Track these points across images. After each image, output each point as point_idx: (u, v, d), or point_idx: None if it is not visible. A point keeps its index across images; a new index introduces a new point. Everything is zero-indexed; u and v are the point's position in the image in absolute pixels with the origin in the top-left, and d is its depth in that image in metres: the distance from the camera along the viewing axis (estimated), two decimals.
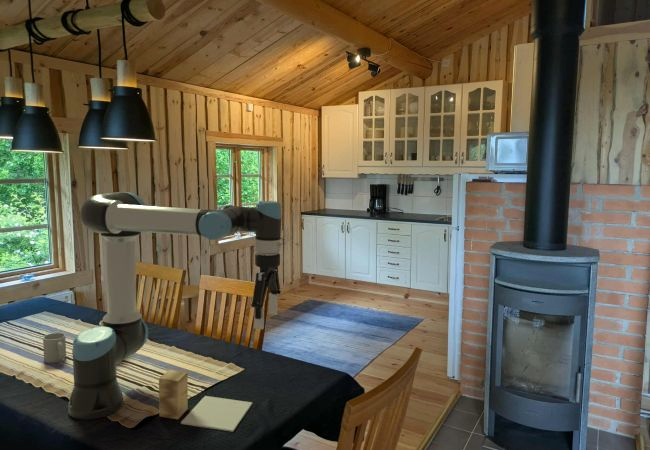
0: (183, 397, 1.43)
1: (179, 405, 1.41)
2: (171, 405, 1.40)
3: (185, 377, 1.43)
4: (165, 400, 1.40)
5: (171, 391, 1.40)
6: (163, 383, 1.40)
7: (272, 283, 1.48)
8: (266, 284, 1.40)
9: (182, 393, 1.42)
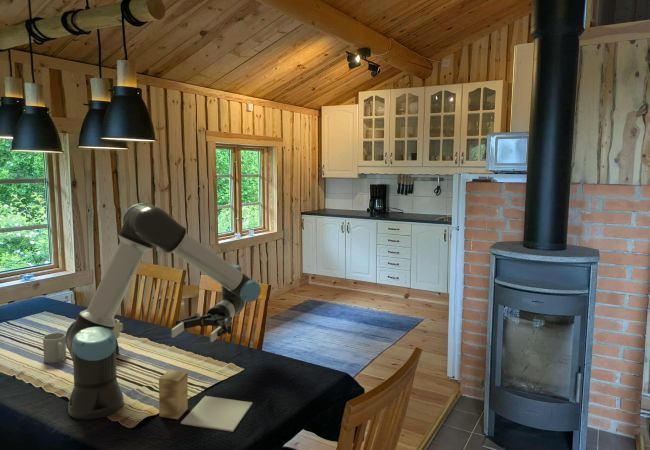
0: (183, 397, 1.43)
1: (179, 405, 1.41)
2: (171, 405, 1.40)
3: (185, 377, 1.43)
4: (165, 400, 1.40)
5: (171, 391, 1.40)
6: (163, 383, 1.40)
7: (197, 324, 1.63)
8: None
9: (182, 393, 1.42)
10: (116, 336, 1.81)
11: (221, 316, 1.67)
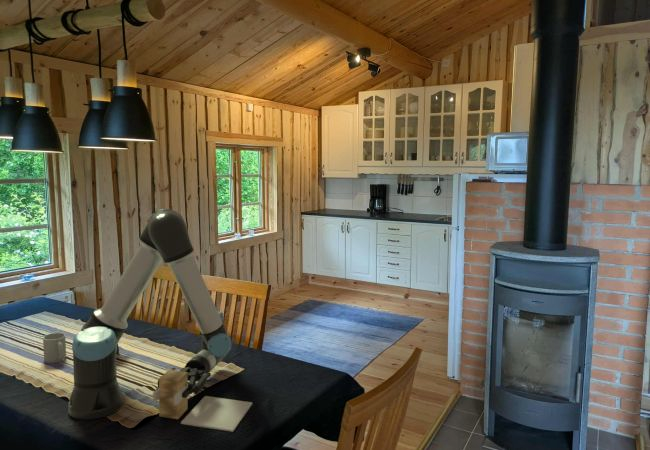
0: None
1: (179, 405, 1.41)
2: (171, 405, 1.40)
3: (185, 376, 1.43)
4: (165, 400, 1.40)
5: (171, 391, 1.40)
6: (163, 383, 1.40)
7: None
8: (195, 382, 1.51)
9: None
10: None
11: (202, 370, 1.55)
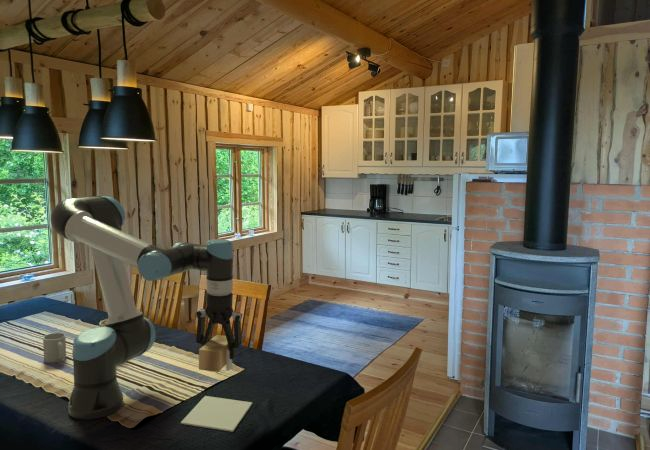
0: None
1: None
2: None
3: None
4: None
5: None
6: None
7: None
8: None
9: None
10: None
11: None
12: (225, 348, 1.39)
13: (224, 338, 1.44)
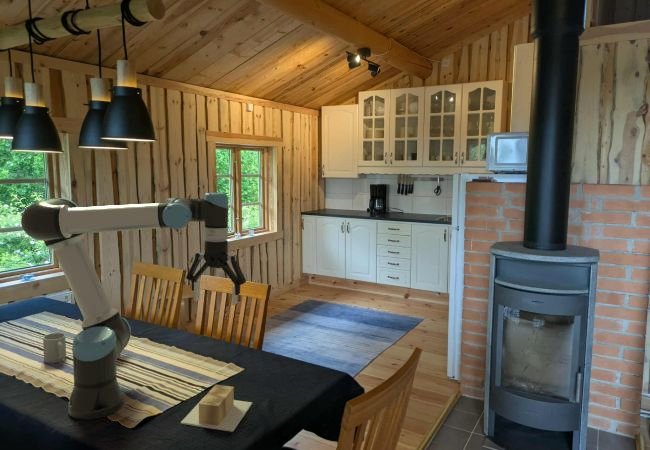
0: None
1: None
2: None
3: None
4: None
5: None
6: None
7: None
8: (203, 265, 1.57)
9: None
10: None
11: None
12: (224, 400, 1.41)
13: (223, 389, 1.46)
